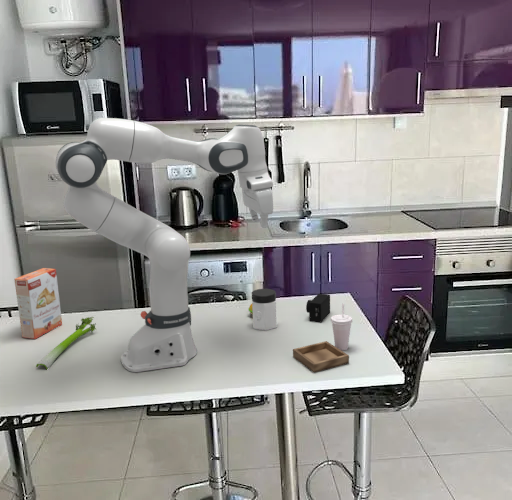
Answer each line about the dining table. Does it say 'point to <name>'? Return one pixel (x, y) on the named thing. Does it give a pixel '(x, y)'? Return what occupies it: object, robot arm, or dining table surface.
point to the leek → (67, 342)
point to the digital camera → (318, 308)
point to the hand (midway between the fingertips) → (259, 224)
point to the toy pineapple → (251, 309)
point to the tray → (320, 356)
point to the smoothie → (341, 329)
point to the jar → (264, 309)
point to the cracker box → (38, 302)
